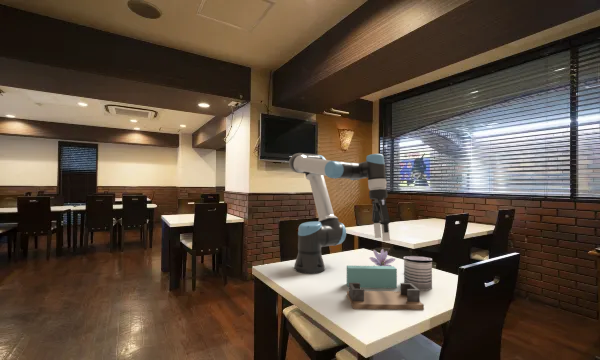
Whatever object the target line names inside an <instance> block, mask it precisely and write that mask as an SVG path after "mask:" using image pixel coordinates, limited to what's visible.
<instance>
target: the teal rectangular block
mask: <svg viewBox="0 0 600 360" xmlns="http://www.w3.org/2000/svg"><path fill="white" fill-rule="evenodd" d="M397 272H398V271H397V268H396V267H395V266H394V265H391V266H378V265H346V286H347V287H348V288H349V283H360V289H364V288H365V289H367V288H368V289H370V288H371V289H397V288H398V287H397V286H398V284H397V283H398V282H397V281H398V280H397V277H398V275H397V274H398V273H397Z"/></svg>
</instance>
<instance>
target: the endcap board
mask: <svg viewBox="0 0 600 360" xmlns="http://www.w3.org/2000/svg"><path fill="white" fill-rule="evenodd" d="M399 285H400V290H398V291H397V290H396V291H394V290H393V291H390V290H389V291H388V290H387V291H386V290H382V291H381V290H380V291H379V290H374V291H373V290H372V291H371V290H365V289H364V288H360V283H349V287H348V290H346V296H347V299H348V301H349V303H350V305H351V307H352V309H355V310H357V309H358V310H424V309H425V307H424V306H425V305H424V303H422V302H421V300H420V299H421V297H420V293H421V292H420V291H421V290H419V289H418V288H416V287H415V286H414V285H413V284H412V283H404V282H400V284H399Z"/></svg>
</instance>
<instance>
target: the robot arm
mask: <svg viewBox="0 0 600 360" xmlns="http://www.w3.org/2000/svg"><path fill="white" fill-rule="evenodd" d="M365 160H366V161H362V162H349V161H347V162H346V161H341V160H340V161H339V160H330V159H326V158H325V156H324V155H321V154H317V153H306V152H304V153H303V152H298V153H294V154H293V155H292V156H290V158H289V160H288V166H289V168H290V170H291V171H293V172H294V173H295V174H296V173H298V174H304V175H305V178H306V180H308V181H309V185H310V188H311V191H312V196H313V200H314V201H313V202H314V204H315V209H316V211H317V215H318V221H317V220H316V221H314V220H313V221H306V222H302V223H301V224H299V226H298V231H297V242H298V243H297V250H298V251H297V252H298V253H297V255H296V259H295V262H294V271H296V272H298V273H302V274H319V273H322V272H325V261H324V259H323V256H322V248H324V247H330V246H331V247H332V246H337V245H341V244H343V242H344V241H345V240H346V237H347V229H346V226H345V224H344V223H342V222H340V221H339V220H340V219H339V217H337V216H336V215H335V214H334V213H335V212H334V210H333V206H332V202H331V199H330V194H329V191H328V188H327V187H328V186H327V183H326V180H325V176H326V177H327V178H329V179H335V180H337V179H345V180H347V179H349V180H351V181H359V180H362V179H367V184H368V186H367V187H368V190H369V191H368V195H369V199H370V200H374V201H372V214H371V215H372V220H371V221H372V222H373V229H374V230H373V231H374V232H373V233H374V239H381V238H382V242H389V241H391V238H390V237H391V236H390V225H389V224H390V223H391V220H390V215H389V210H388V206H387V199H388V190H387V184H388V181H387V177H386V163H385V157H384V155H383V154H381V153H372V154H369V155H366V159H365Z"/></svg>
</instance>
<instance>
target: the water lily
mask: <svg viewBox="0 0 600 360" xmlns="http://www.w3.org/2000/svg"><path fill="white" fill-rule="evenodd" d="M372 251H373V254H374V256H375V257H373V256H372V257H369V258H368V259H369V260H370V261H371V262H373V263H374V264H375V266H392V265H391V264H392V263H393V262H395V261H396V258H393V257H390V258H387V257H388V251H387V250H384V248H382V249H381V250H380V253H379V252H378V251H377V250H375V249H372Z"/></svg>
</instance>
